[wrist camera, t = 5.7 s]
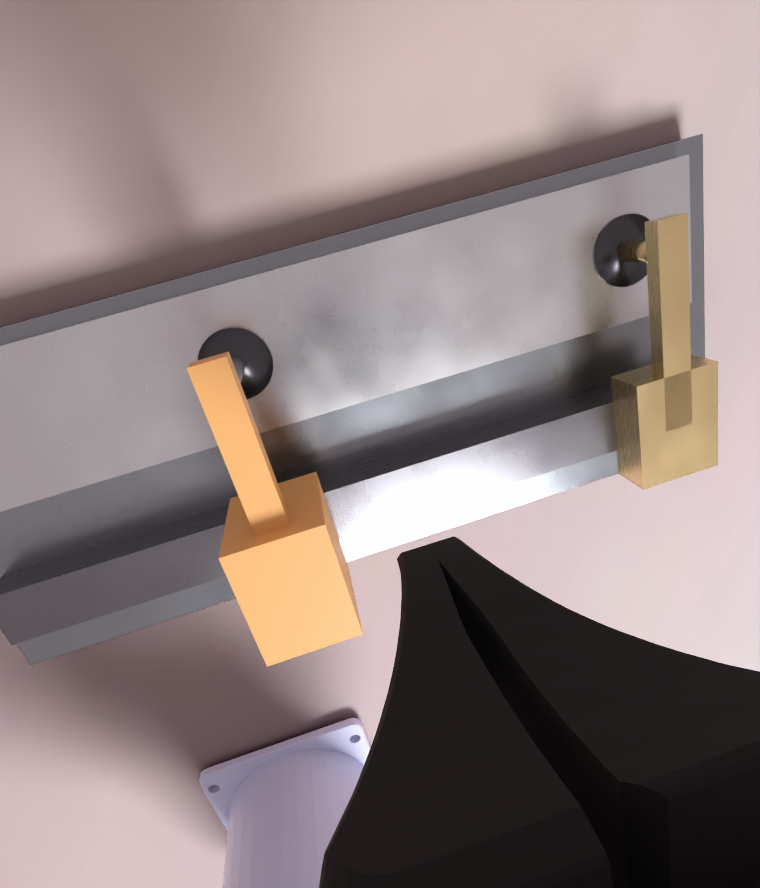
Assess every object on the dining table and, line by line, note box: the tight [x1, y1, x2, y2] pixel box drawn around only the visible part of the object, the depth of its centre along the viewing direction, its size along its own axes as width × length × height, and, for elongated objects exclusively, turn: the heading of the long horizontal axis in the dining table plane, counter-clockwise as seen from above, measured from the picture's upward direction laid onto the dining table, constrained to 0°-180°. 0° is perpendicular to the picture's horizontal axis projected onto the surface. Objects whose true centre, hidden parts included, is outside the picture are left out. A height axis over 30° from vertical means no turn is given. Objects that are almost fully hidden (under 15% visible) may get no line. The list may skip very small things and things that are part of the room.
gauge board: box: [0, 134, 718, 665], centre depth 18 cm, size 12×29×4 cm, turn 104°
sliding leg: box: [187, 352, 363, 667], centre depth 16 cm, size 9×3×4 cm, turn 14°
